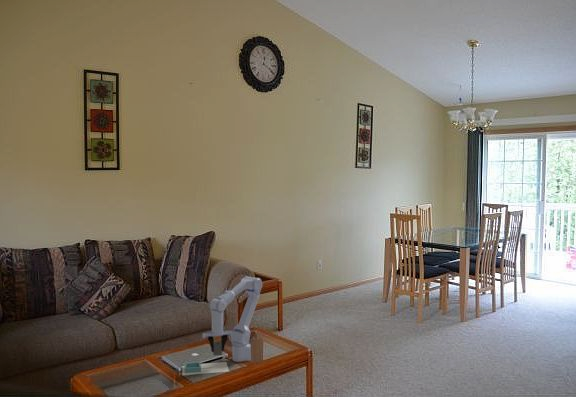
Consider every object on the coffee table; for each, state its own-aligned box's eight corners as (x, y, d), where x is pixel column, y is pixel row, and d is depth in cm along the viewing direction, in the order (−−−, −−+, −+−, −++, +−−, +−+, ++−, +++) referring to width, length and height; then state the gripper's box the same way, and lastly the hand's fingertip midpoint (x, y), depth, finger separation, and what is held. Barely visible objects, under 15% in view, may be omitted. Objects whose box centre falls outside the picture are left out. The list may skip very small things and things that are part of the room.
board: (226, 363, 239) (226, 358, 239) (228, 373, 226) (228, 367, 226) (182, 367, 234) (182, 361, 234) (182, 377, 221) (182, 370, 221)
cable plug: (221, 352, 234) (221, 339, 234) (221, 354, 230) (221, 342, 230) (213, 352, 233) (213, 340, 233) (213, 355, 229) (213, 342, 229)
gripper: (230, 320, 237) (230, 346, 237) (201, 322, 232) (201, 350, 233) (233, 323, 231) (233, 351, 231) (203, 326, 226) (203, 354, 226)
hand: (217, 351), depth 231 cm, fingers closed on cable plug, 4 cm apart
